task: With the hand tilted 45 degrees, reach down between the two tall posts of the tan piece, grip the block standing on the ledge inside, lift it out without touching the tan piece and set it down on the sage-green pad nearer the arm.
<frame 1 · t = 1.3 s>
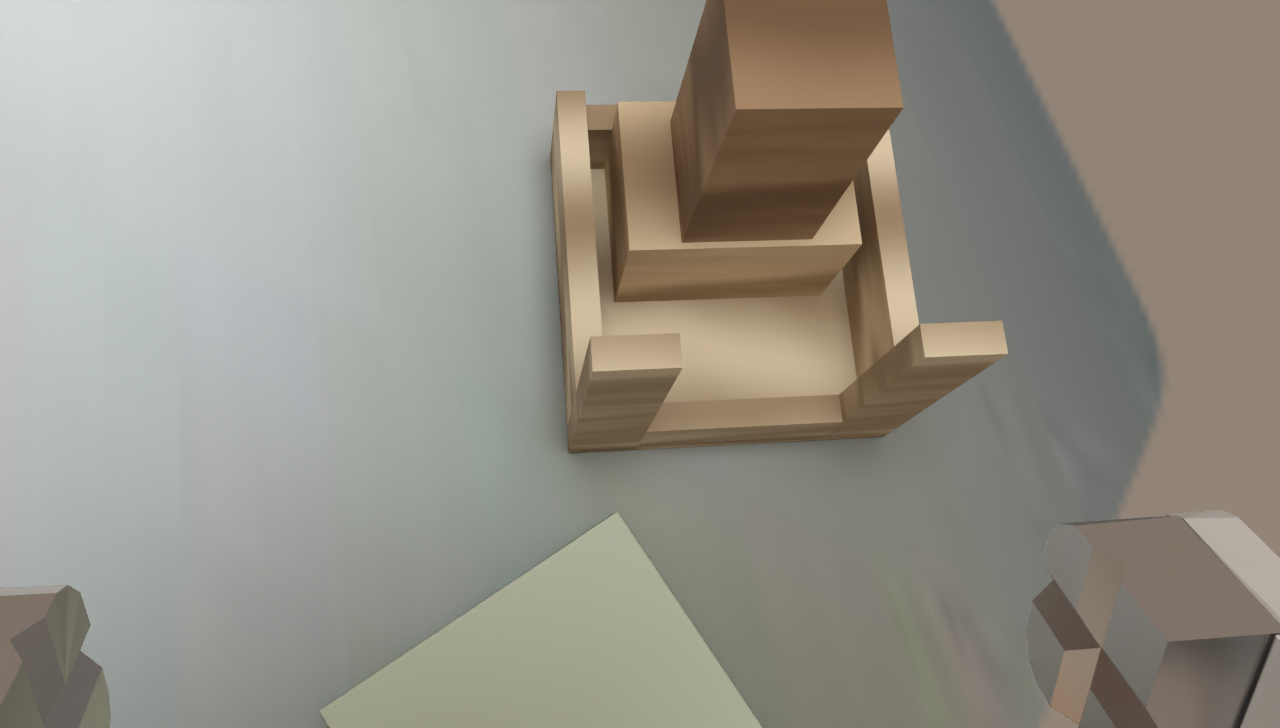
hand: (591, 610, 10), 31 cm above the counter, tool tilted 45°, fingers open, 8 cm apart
block: (740, 179, 38), point 6 cm above the counter, touching tan piece
tan piece: (713, 293, 43), on the counter
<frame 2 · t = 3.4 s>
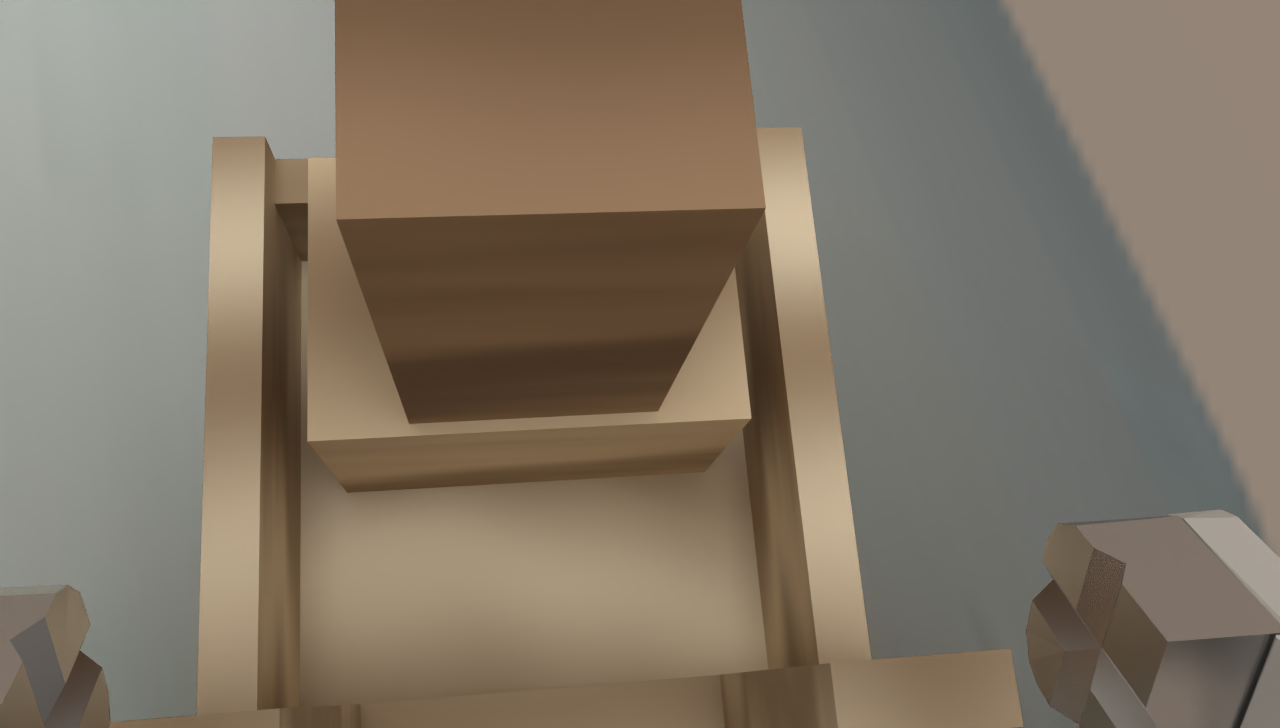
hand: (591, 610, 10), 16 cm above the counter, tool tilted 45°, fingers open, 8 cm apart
block: (528, 300, 21), point 6 cm above the counter, touching tan piece
tan piece: (527, 467, 26), on the counter
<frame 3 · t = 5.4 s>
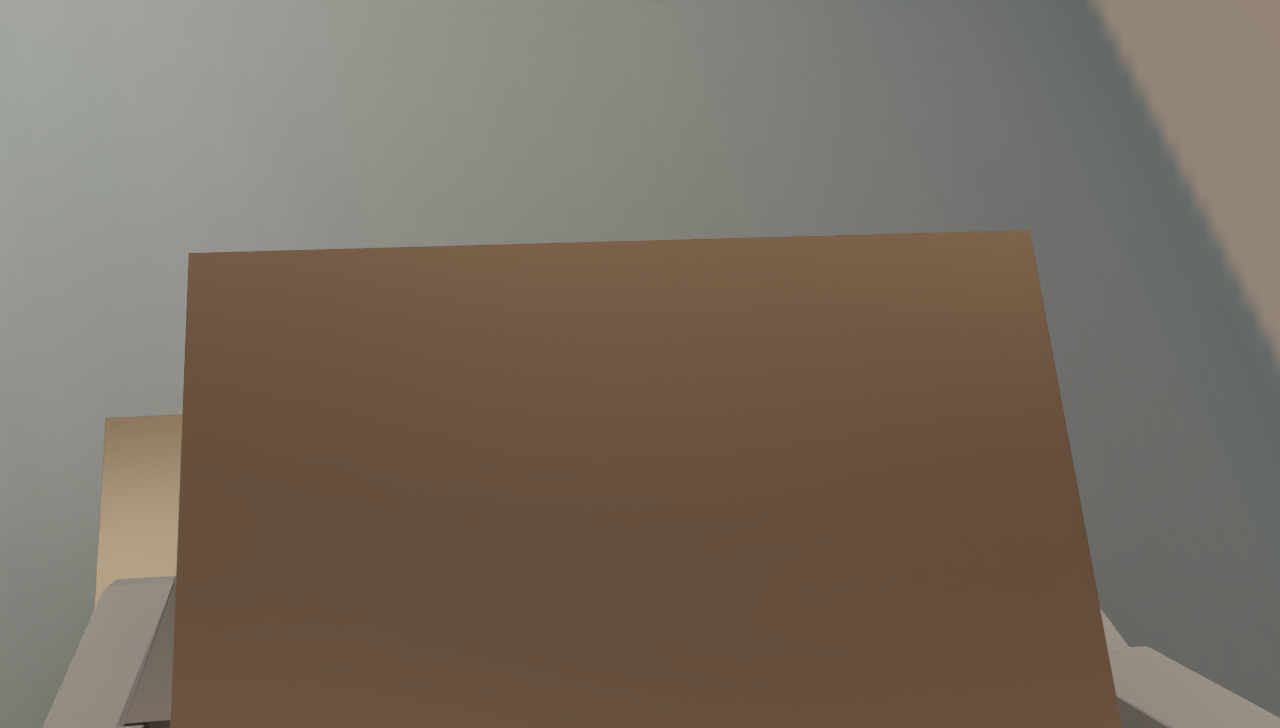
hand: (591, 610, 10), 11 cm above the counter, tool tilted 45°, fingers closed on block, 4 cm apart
block: (569, 691, 14), point 6 cm above the counter, touching tan piece, gripper
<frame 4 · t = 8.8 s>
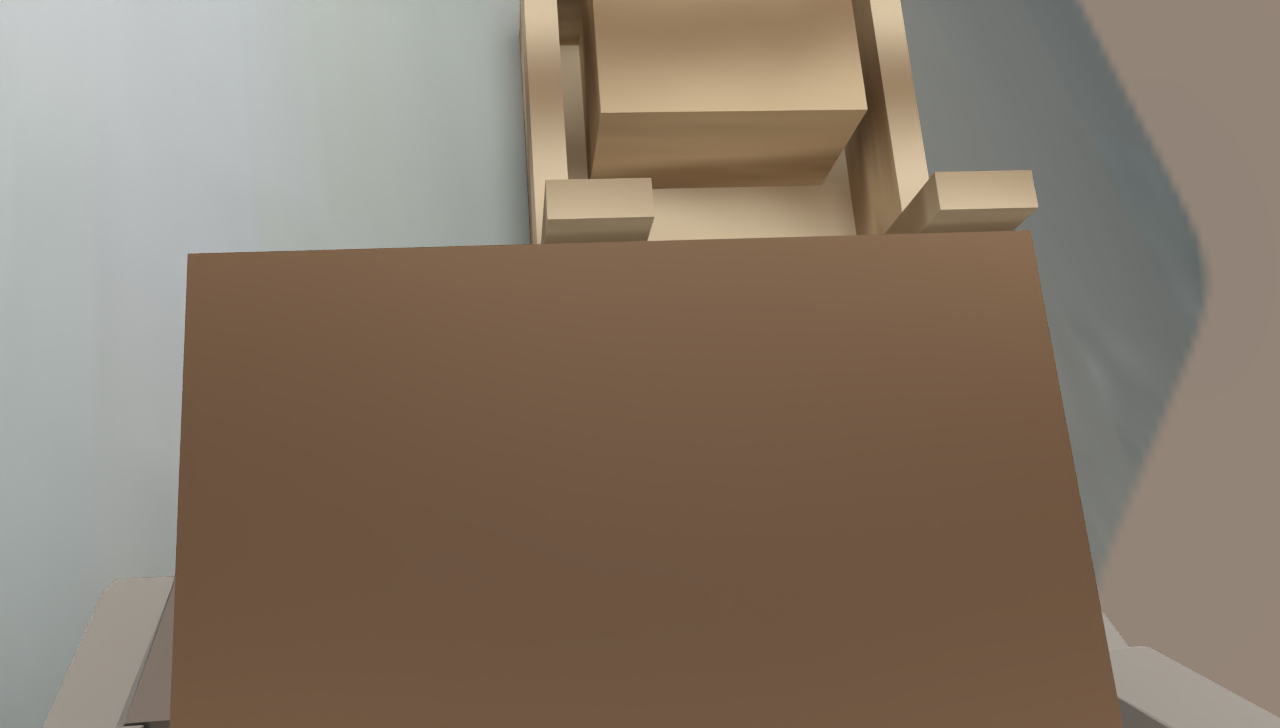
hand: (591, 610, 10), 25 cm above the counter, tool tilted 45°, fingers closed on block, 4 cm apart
block: (569, 691, 14), point 20 cm above the counter, touching gripper
tan piece: (701, 184, 39), on the counter
when the fingers open (7 cm above the counter, at t = 12.6 s): block drops 1 cm, resting on pad.
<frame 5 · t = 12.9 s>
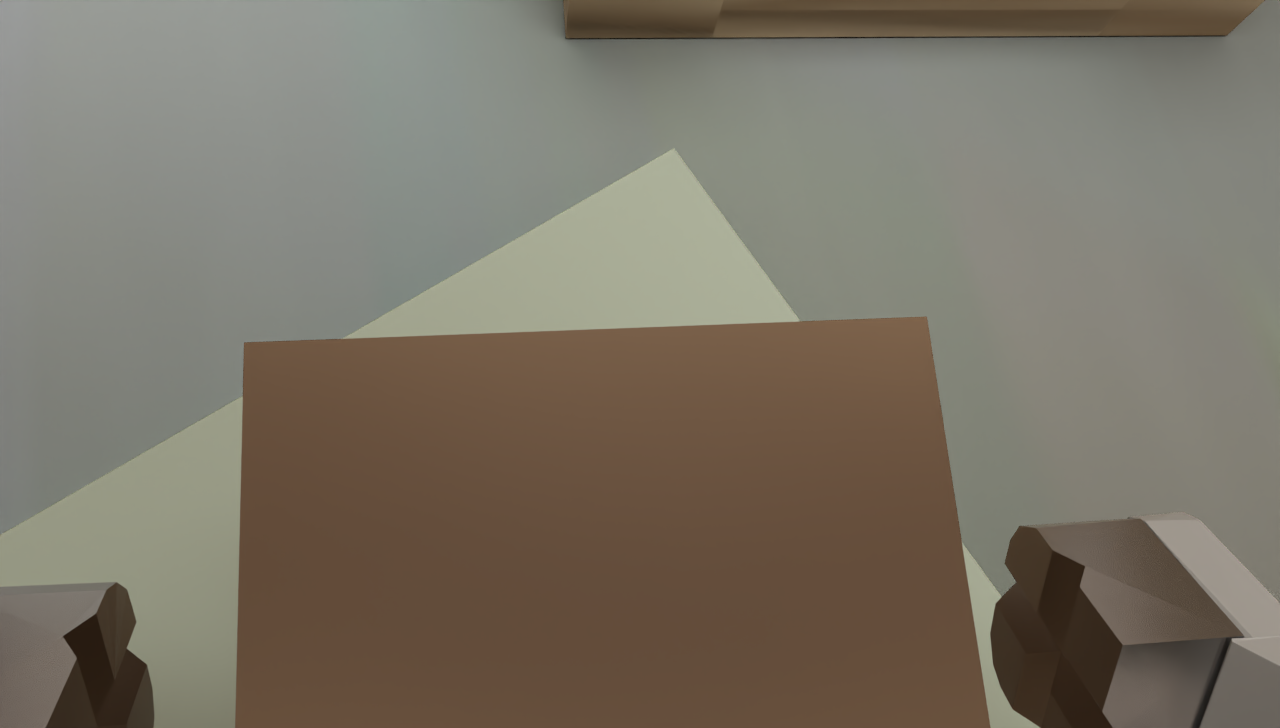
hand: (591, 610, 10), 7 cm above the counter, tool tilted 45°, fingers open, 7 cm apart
pad: (563, 693, 16), on the counter
block: (560, 692, 15), resting on pad
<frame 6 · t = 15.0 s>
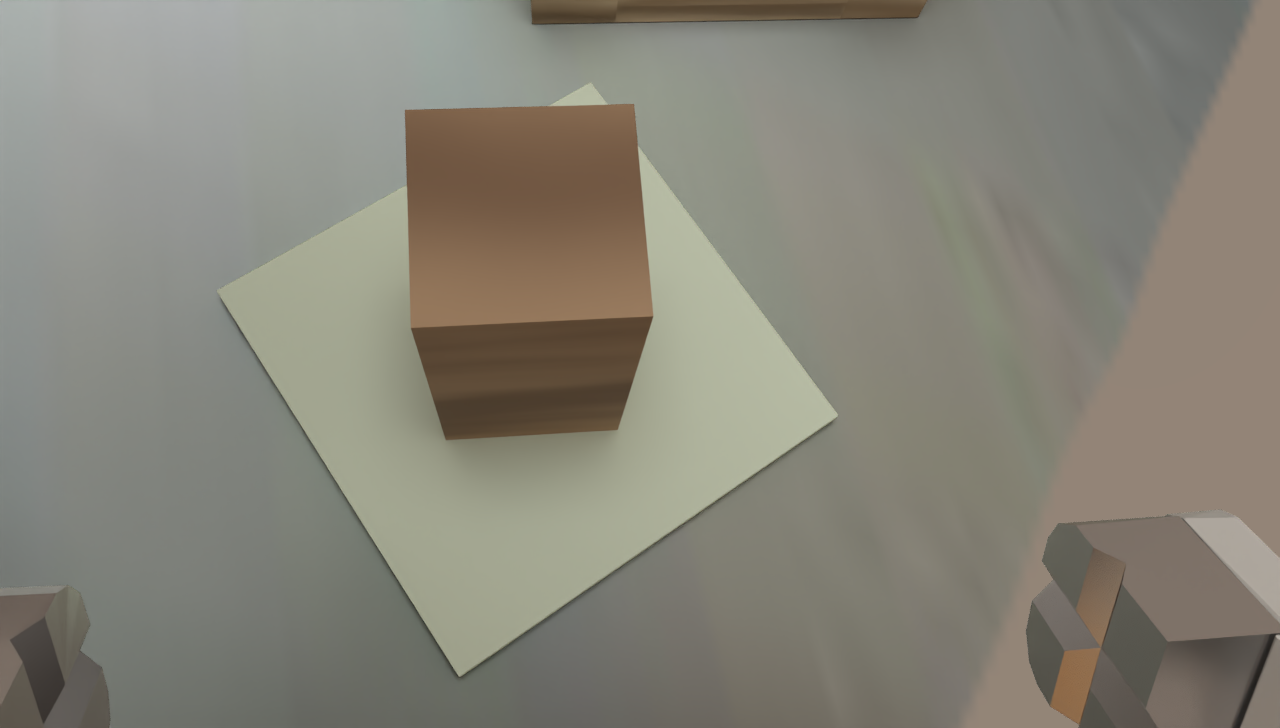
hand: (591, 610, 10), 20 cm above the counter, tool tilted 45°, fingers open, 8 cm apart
pad: (530, 359, 31), on the counter
block: (527, 353, 30), resting on pad
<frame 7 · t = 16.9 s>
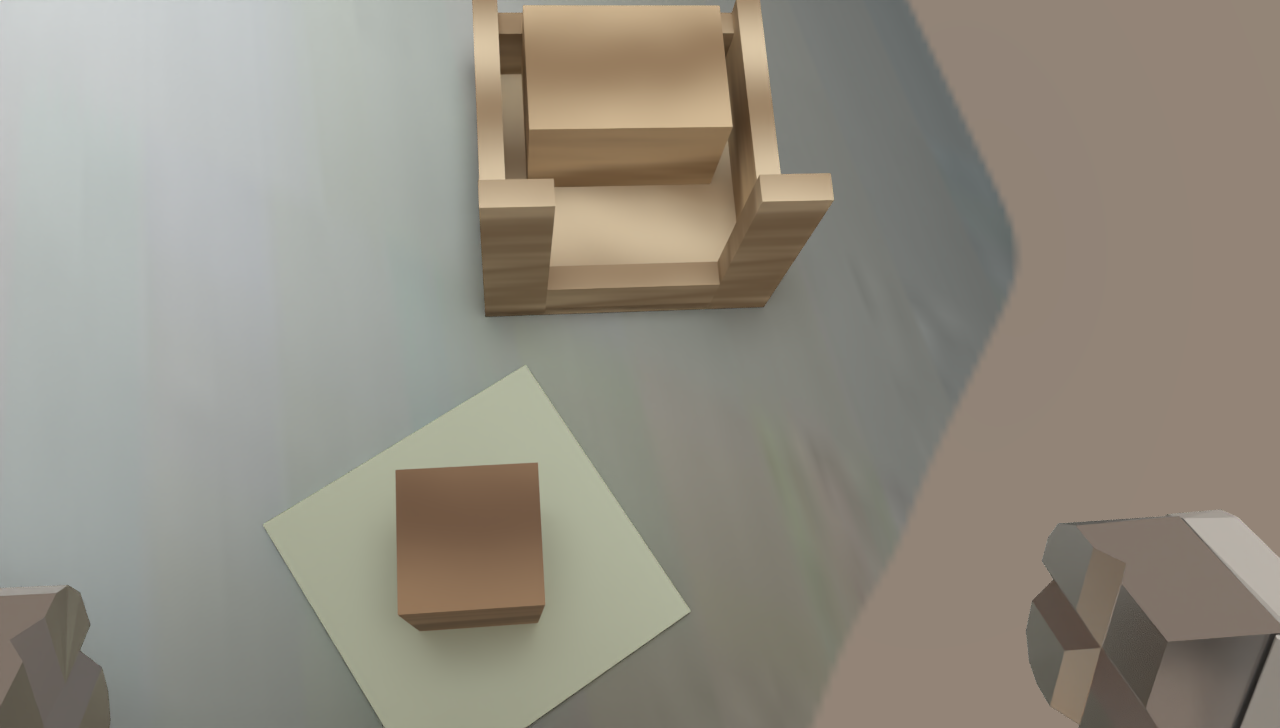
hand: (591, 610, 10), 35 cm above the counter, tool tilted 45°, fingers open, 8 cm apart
pad: (479, 569, 44), on the counter
block: (477, 568, 44), resting on pad
tan piece: (617, 183, 50), on the counter
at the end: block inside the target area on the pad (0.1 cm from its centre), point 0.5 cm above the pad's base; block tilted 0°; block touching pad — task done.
